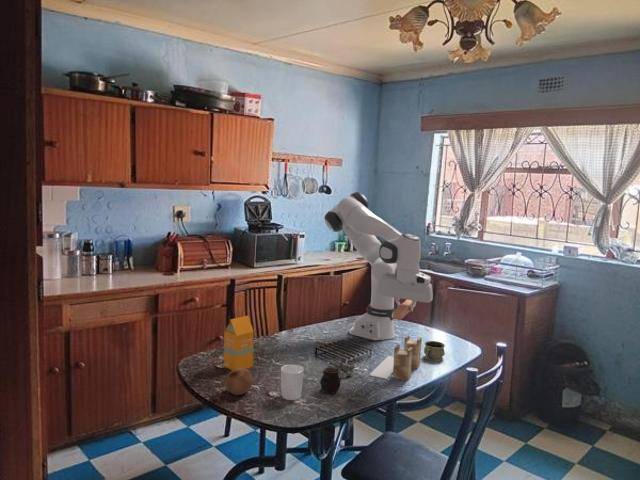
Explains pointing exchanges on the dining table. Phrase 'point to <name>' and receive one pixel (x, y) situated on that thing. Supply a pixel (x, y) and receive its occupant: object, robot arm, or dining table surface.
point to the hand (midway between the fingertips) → (405, 309)
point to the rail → (402, 310)
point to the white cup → (291, 381)
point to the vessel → (434, 350)
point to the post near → (402, 363)
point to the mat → (384, 369)
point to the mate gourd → (330, 380)
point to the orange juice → (238, 343)
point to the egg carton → (344, 367)
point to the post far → (414, 350)
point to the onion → (239, 381)
